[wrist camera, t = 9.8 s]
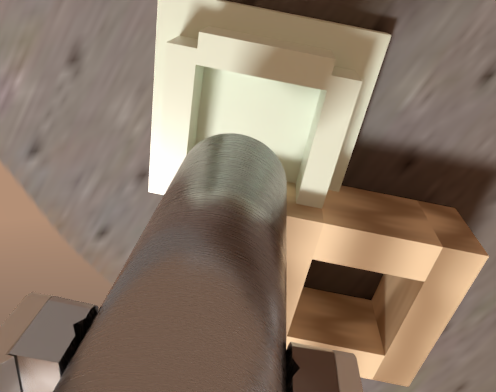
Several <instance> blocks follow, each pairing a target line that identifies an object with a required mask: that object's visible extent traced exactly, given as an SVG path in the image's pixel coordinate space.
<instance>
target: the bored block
mask: <svg viewBox="0 0 496 392" xmlns="http://www.w3.org/2000/svg"><path fill="white" fill-rule="evenodd" d="M488 257H489V256H488V254H487V253H486V251H485V250H484V248H483V247H482V246H481V244H480V243H479V241H478V240H477V238H476V237H475V236H474V234H473V233H472V231H471V230H470V229H469V227H468V226H467V224H466V223H465V221H464V220H463V219H462V217H461V216H460V214H459V213H458V211H457V210H456V209H455V208H452V207H447V206H442V205H437V204H432V203H427V202H422V201H417V200H412V199H407V198H402V197H397V196H392V195H387V194H382V193H377V192H372V191H367V190H362V189H357V188H352V187H347V186H342V185H341V187H340V190H339V192H337V191H332V190H328V192H327V195H326V198H325V201H324V204H323V207H322V209H321V208H316V207H311V206H306V205H301V204H296V183H292V182H287V283H286V350H287V347H288V345H289V343H290V342H295V343H300V344H306V345H312V346H317V347H323V348H328V349H331V350H337V351H343V352H348V353H353V354H354V355H355V356H356V358H357V362H358V368H359V373H360V377H362V378H367V379H372V380H377V381H382V382H387V383H392V384H397V385H402V386H407V387H408V386H409V385H410V383H411V382H412V380H413V378H414V377H415V375H416V374H417V372H418V370H419V369H420V367H421V365H422V364H423V362H424V361H425V359H426V357H427V356H428V354H429V353H430V351H431V349H432V348H433V346H434V344H435V343H436V341H437V340H438V338H439V336H440V335H441V333H442V332H443V330H444V328H445V327H446V325H447V323H448V322H449V320H450V319H451V317H452V315H453V314H454V312H455V311H456V309H457V307H458V306H459V304H460V302H461V301H462V299H463V298H464V296H465V294H466V293H467V291H468V290H469V288H470V286H471V285H472V283H473V281H474V280H475V278H476V277H477V275H478V273H479V272H480V270H481V269H482V267H483V265H484V264H485V262H486V260H487V259H488ZM312 259H313V260H318V261H323V262H328V263H333V264H338V265H343V266H348V267H353V268H358V269H363V270H368V271H373V272H378V273H383V276H382V278H381V281H380V283H379V285H378V287H377V289H376V291H375V294H374V296H373V298H372V300H367V299H362V298H357V297H352V296H347V295H342V294H337V293H332V292H327V291H322V290H317V289H312V288H307V287H303V286H304V283H305V279H306V276H307V273H308V270H309V267H310V264H311V261H312Z"/></svg>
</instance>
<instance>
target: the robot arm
mask: <svg viewBox="0 0 496 392" xmlns="http://www.w3.org/2000/svg"><path fill="white" fill-rule="evenodd" d="M97 312H98V306H96V305H93V304H88V303H84V302H79V301H74V300H70V299H65V298H61V297H56V296H51V295H45V294H41V293H36V292H31V293H30V294H28V295H26V296H25V297H24V298H23V299H22V301H21V302H20V303H19V304H18V305H17V307H16V308H15V309H14V310H13V312H12V313H11V314H10V315H9V317H8V318H7V319H6V320H5V321H4V322H3V324H2V325H1V326H0V392H53V390H54V389H55V387H56V385H57V383H58V381H59V380H60V378H61V376H62V374H63V373H64V371H65V369H66V367H67V366H68V364H69V362H70V360H71V358H72V357H73V355H74V353H75V351H76V350H77V348H78V346H79V344H80V343H81V341H82V339H83V337H84V335H85V334H86V332H87V330H88V328H89V327H90V325H91V323H92V321H93V320H94V318H95V316H96V314H97ZM286 392H363V389H362V384H361V378H360V373H359V368H358V362H357V358H356V356H355V355H354V354H353V353H348V352H343V351H337V350H331V349H328V348H323V347H317V346H312V345H306V344H300V343H295V342H290V343H289V345H288V347H287V350H286Z"/></svg>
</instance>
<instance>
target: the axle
mask: <svg viewBox="0 0 496 392" xmlns="http://www.w3.org/2000/svg"><path fill="white" fill-rule="evenodd" d="M286 283H287V181H286V174H285V171H284V168H283V166H282V163H281V162H280V160H279V158H278V157H277V156H276V154H275V153H274V152H273V151H272V150H271V149H270V148H269V147H268V146H266V145H265V144H263V143H262V142H260V141H258V140H257V139H254V138H252V137H249V136H246V135H242V134H235V133H225V134H218V135H214V136H211V137H208V138H206V139H204V140H202V141H200V142H199V143H198V144H196V145H195V146H194V147H193V148H192V149H191V150H190V151H189V152H188V154H187V155H186V157H185V159H184V160H183V162H182V164H181V166H180V167H179V169H178V171H177V173H176V174H175V176H174V178H173V180H172V182H171V183H170V185H169V187H168V189H167V190H166V192H165V194H164V196H163V197H162V199H161V201H160V203H159V205H158V206H157V208H156V210H155V212H154V213H153V215H152V217H151V219H150V220H149V222H148V224H147V226H146V228H145V229H144V231H143V233H142V235H141V236H140V238H139V240H138V242H137V243H136V245H135V247H134V249H133V251H132V252H131V254H130V256H129V258H128V259H127V261H126V263H125V265H124V266H123V268H122V270H121V272H120V274H119V275H118V277H117V279H116V281H115V282H114V284H113V286H112V288H111V289H110V291H109V293H108V295H107V297H106V298H105V300H104V302H103V304H102V306H101V307H100V309H99V311H98V312H97V314H96V316H95V318H94V320H93V321H92V323H91V325H90V327H89V328H88V330H87V332H86V334H85V335H84V337H83V339H82V341H81V343H80V344H79V346H78V348H77V350H76V351H75V353H74V355H73V357H72V358H71V360H70V362H69V364H68V366H67V367H66V369H65V371H64V373H63V374H62V376H61V378H60V380H59V381H58V383H57V385H56V387H55V389H54V390H53V392H286Z"/></svg>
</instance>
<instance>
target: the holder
mask: <svg viewBox="0 0 496 392" xmlns="http://www.w3.org/2000/svg"><path fill="white" fill-rule="evenodd" d="M390 38H391V35H390V34H388V33H386V32H381V31H376V30H371V29H366V28H361V27H356V26H351V25H346V24H341V23H336V22H331V21H326V20H321V19H316V18H311V17H306V16H301V15H296V14H291V13H286V12H281V11H276V10H271V9H266V8H261V7H256V6H251V5H246V4H241V3H236V2H231V1H226V0H158V7H157V27H156V47H155V68H154V88H153V108H152V128H151V148H150V168H149V188H148V192H151V193H156V194H161V195H164V194H165V192H166V190H167V189H168V187H169V185H170V183H171V182H172V180H173V178H174V176H175V174H176V173H177V171H178V169H179V167H180V166H181V164H182V162H183V160H184V159H185V157H186V155H187V154H188V152H189V151H190V150H191V149H192V148H193V147H194V146H195V145H196V144H198V143H199V142H200V141H202V140H204V139H206V138H208V137H211V136H214V135H218V134H225V133H235V134H242V135H246V136H249V137H252V138H254V139H257V140H258V141H260V142H262V143H263V144H265V145H266V146H268V147H269V148H270V149H271V150H272V151H273V152H274V153H275V154H276V156H277V157H278V158H279V160H280V162H281V163H282V166H283V168H284V171H285V174H286V181H287V182H292V183H296V204H301V205H306V206H311V207H316V208H321V209H322V207H323V204H324V201H325V198H326V195H327V192H328V190H332V191H337V192H339V190H340V187H341V185H342V182H343V179H344V176H345V173H346V170H347V167H348V164H349V161H350V158H351V155H352V152H353V149H354V146H355V143H356V140H357V137H358V134H359V131H360V128H361V125H362V122H363V119H364V116H365V113H366V110H367V107H368V104H369V101H370V98H371V95H372V92H373V89H374V86H375V83H376V80H377V77H378V74H379V71H380V68H381V65H382V62H383V59H384V56H385V53H386V50H387V47H388V44H389V41H390Z"/></svg>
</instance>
